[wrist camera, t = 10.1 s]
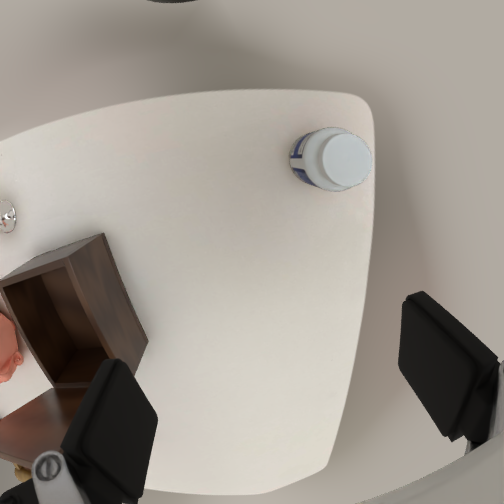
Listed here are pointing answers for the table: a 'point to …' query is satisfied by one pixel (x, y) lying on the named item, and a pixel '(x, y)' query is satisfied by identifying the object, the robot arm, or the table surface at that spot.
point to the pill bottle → (331, 159)
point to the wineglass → (7, 216)
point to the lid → (38, 428)
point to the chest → (74, 312)
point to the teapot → (8, 349)
